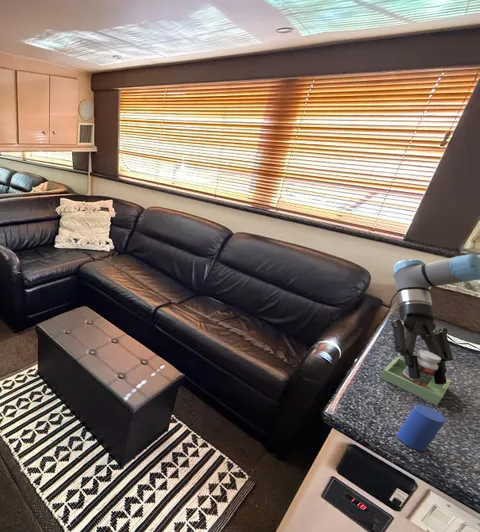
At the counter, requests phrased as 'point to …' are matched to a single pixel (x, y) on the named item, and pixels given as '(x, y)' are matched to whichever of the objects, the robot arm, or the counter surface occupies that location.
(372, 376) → the counter surface
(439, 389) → the sage tray
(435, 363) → the pill bottle
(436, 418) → the blue cylinder
